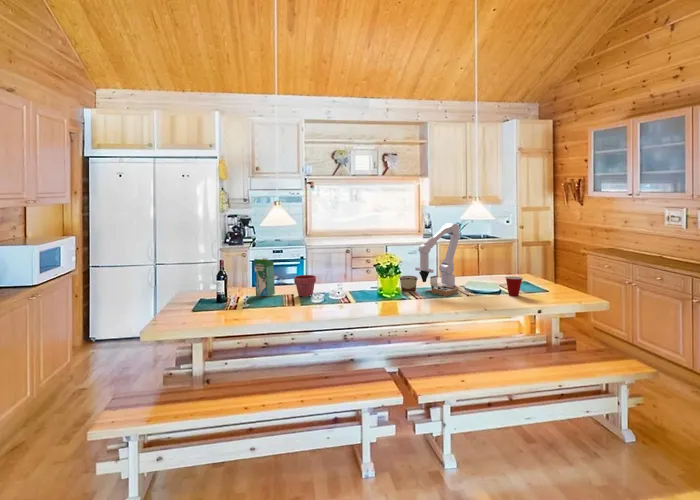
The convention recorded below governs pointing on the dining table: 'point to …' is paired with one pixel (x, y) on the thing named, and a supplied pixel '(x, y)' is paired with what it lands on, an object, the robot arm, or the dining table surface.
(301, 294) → the plant pot
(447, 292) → the dock
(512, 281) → the plastic cup
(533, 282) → the dining table surface
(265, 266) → the milk carton
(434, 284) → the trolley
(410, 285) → the food container
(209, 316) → the dining table surface
